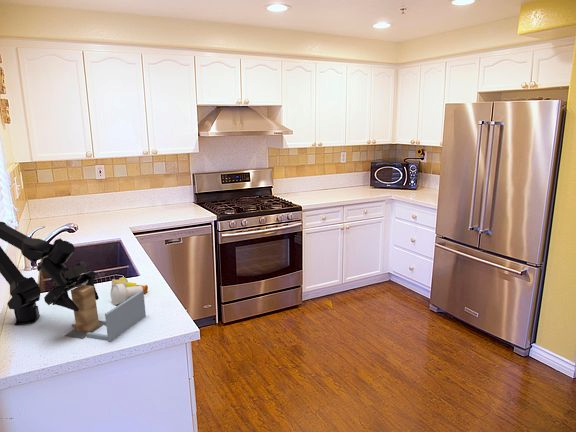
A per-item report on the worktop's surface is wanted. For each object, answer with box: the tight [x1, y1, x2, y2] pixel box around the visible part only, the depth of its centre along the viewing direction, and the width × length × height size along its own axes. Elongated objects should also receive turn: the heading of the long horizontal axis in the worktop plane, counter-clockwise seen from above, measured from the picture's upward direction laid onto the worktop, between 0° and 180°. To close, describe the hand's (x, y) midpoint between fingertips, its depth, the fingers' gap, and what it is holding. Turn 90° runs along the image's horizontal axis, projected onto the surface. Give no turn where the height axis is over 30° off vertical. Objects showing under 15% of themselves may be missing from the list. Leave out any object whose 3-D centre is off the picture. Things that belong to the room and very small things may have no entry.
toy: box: [111, 276, 149, 295], centre depth 176 cm, size 5×15×10 cm
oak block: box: [70, 285, 99, 333], centre depth 142 cm, size 9×5×15 cm, turn 74°
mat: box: [64, 319, 106, 340], centre depth 144 cm, size 8×12×1 cm, turn 164°
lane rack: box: [86, 291, 147, 343], centre depth 144 cm, size 10×19×10 cm, turn 164°
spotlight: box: [110, 283, 143, 306], centre depth 166 cm, size 8×11×8 cm
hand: (88, 304), depth 141 cm, fingers open, 9 cm apart
